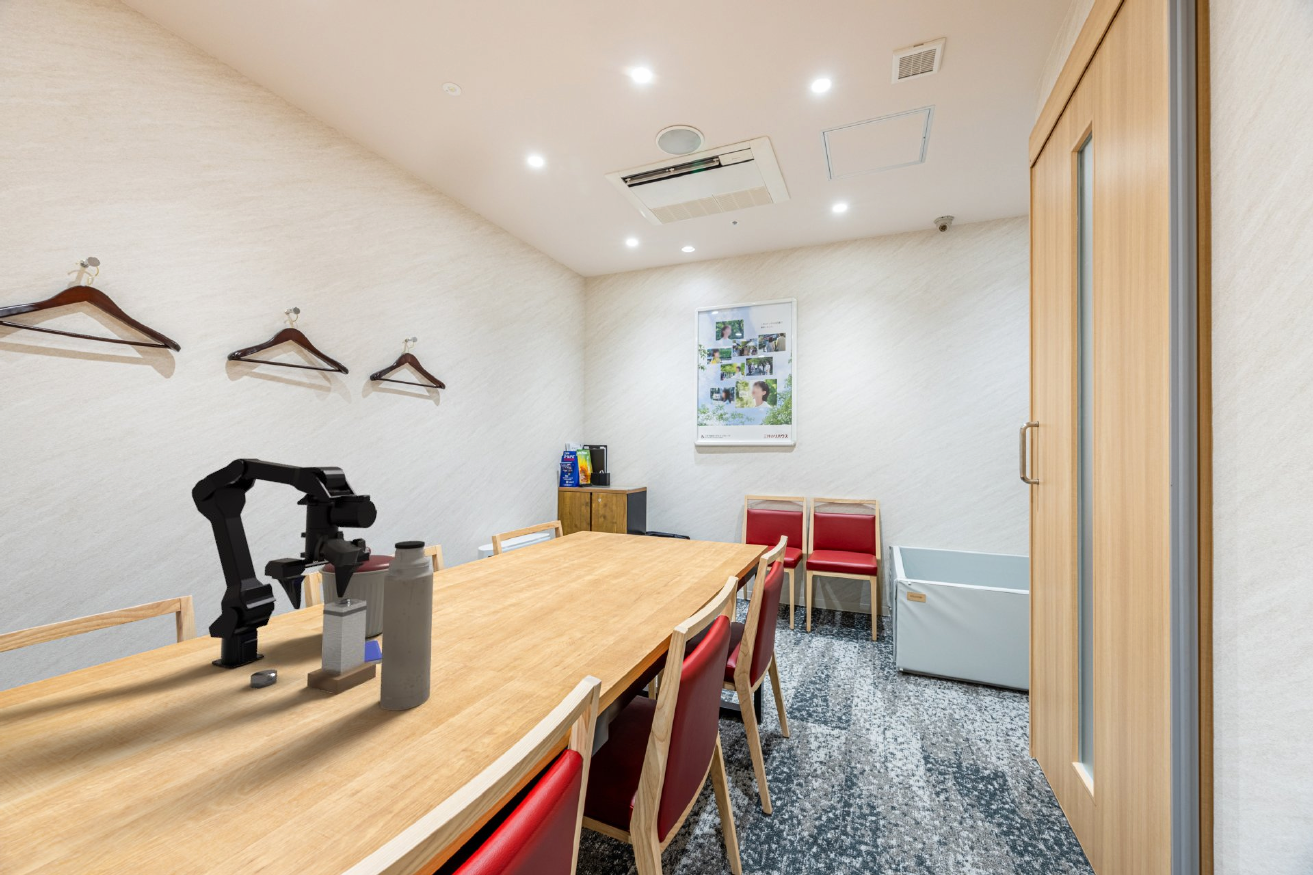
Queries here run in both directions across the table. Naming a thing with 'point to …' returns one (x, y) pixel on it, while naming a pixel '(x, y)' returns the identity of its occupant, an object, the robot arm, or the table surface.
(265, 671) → the steel puck
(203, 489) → the robot arm
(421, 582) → the thermos bottle
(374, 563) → the canister
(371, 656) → the hard drive
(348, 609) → the plate
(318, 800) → the table surface
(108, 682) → the table surface
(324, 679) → the stand
